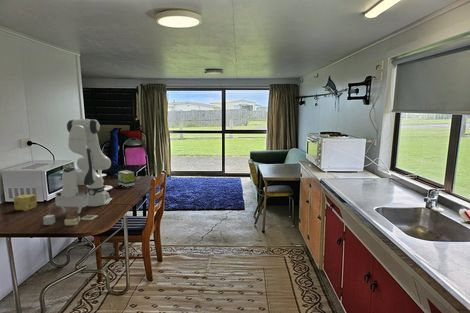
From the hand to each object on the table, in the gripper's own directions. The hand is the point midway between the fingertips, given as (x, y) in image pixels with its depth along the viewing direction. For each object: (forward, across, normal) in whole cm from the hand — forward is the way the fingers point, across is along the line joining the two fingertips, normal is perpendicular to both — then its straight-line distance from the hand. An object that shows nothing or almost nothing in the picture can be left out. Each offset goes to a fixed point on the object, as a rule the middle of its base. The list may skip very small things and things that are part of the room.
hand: (72, 212), depth 195 cm
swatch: (+7, -5, -11) cm, 14 cm away
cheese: (+7, +55, -25) cm, 61 cm away
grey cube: (+7, +15, +2) cm, 17 cm away
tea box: (+8, +12, -104) cm, 105 cm away
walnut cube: (+3, 0, 0) cm, 3 cm away
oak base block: (+7, 0, 0) cm, 7 cm away
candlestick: (+8, +28, -80) cm, 85 cm away
